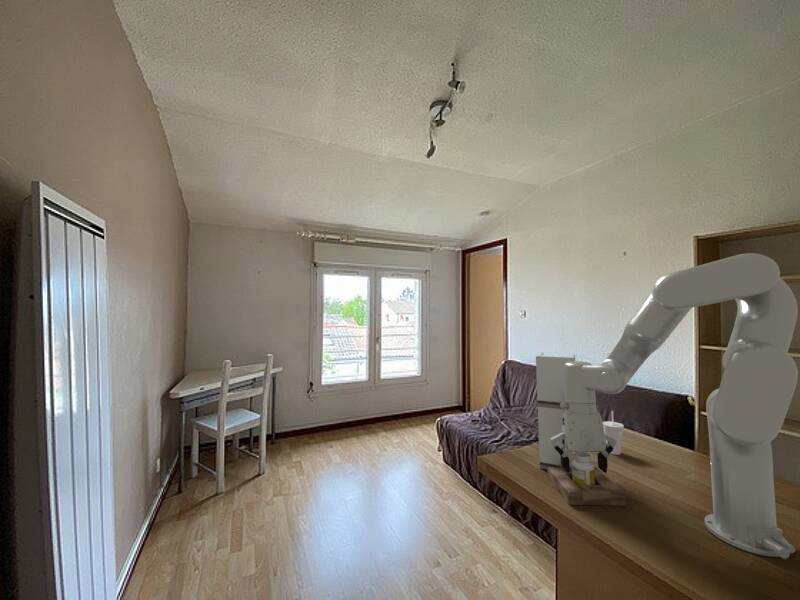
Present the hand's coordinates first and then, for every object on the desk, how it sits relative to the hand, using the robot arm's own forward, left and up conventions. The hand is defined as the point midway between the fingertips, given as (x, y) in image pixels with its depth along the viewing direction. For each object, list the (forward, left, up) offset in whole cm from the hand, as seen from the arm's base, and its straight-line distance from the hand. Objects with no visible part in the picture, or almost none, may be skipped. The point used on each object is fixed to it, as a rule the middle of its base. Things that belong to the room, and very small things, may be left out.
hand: (584, 470), depth 91 cm
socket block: (0, 0, -5) cm, 5 cm away
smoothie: (+25, -22, -6) cm, 34 cm away
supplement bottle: (0, 0, -6) cm, 6 cm away
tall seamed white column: (+16, 0, -6) cm, 17 cm away
